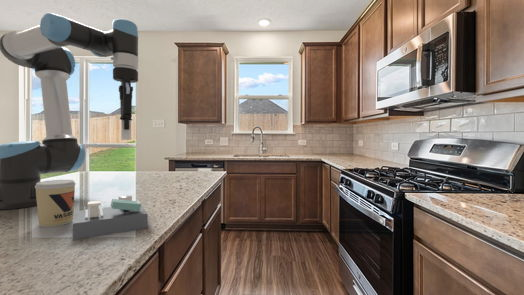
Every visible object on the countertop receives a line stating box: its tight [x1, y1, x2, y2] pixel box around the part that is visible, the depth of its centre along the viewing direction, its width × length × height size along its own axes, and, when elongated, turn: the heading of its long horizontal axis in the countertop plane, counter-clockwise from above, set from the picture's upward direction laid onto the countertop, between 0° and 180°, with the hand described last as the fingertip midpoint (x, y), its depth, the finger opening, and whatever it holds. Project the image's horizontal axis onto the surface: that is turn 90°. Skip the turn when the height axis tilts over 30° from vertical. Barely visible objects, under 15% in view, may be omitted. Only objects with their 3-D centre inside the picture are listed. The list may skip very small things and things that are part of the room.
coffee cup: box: [35, 179, 76, 228], centre depth 78 cm, size 9×9×12 cm
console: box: [72, 205, 149, 241], centre depth 75 cm, size 13×17×5 cm
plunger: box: [118, 195, 133, 201], centre depth 80 cm, size 4×4×3 cm
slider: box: [87, 200, 102, 218], centre depth 70 cm, size 3×3×4 cm
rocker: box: [110, 198, 142, 211], centre depth 74 cm, size 4×7×2 cm, turn 123°
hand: (126, 139), depth 90 cm, fingers closed
